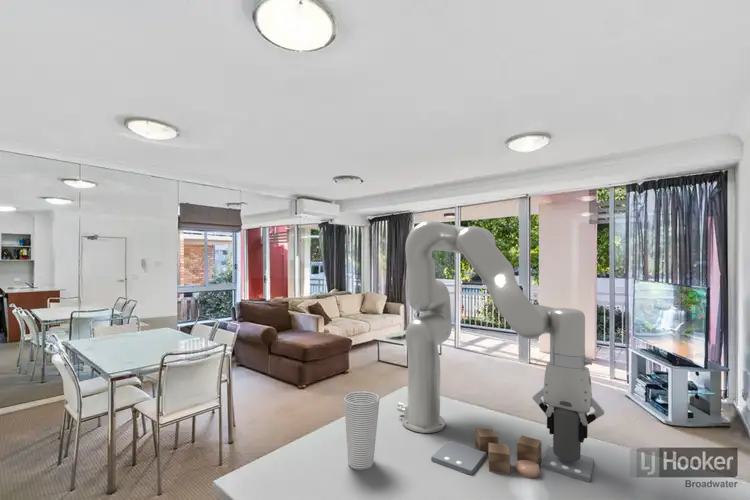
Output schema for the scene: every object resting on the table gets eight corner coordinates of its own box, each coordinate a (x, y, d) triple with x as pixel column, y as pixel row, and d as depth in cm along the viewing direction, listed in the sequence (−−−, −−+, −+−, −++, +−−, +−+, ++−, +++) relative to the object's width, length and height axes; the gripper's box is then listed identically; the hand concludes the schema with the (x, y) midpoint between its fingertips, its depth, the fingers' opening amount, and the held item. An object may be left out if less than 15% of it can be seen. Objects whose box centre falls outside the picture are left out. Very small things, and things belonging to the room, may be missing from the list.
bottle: (584, 462, 84) (584, 396, 85) (556, 459, 85) (557, 394, 86) (575, 450, 90) (576, 388, 90) (550, 447, 91) (550, 386, 92)
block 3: (517, 461, 89) (517, 442, 89) (521, 453, 93) (521, 435, 93) (537, 467, 87) (537, 447, 87) (541, 459, 90) (541, 440, 90)
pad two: (431, 460, 88) (431, 456, 88) (448, 444, 97) (448, 440, 97) (471, 475, 83) (471, 470, 83) (486, 456, 91) (486, 451, 91)
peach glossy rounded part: (514, 466, 87) (513, 459, 87) (536, 467, 86) (536, 460, 86) (518, 477, 82) (517, 469, 82) (542, 478, 81) (541, 470, 81)
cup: (361, 450, 93) (362, 388, 93) (386, 463, 87) (387, 397, 87) (335, 462, 87) (336, 396, 87) (359, 478, 81) (360, 406, 81)
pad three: (540, 467, 86) (540, 462, 86) (548, 449, 94) (548, 445, 95) (589, 482, 81) (589, 477, 81) (593, 462, 89) (593, 458, 89)
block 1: (480, 454, 92) (480, 436, 92) (475, 445, 96) (475, 428, 96) (498, 455, 92) (498, 436, 92) (492, 446, 96) (492, 428, 96)
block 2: (489, 471, 84) (489, 451, 85) (488, 461, 89) (488, 442, 89) (509, 474, 83) (509, 454, 83) (508, 464, 88) (508, 445, 88)
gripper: (610, 363, 86) (610, 441, 86) (532, 351, 96) (532, 421, 96) (608, 370, 80) (608, 454, 80) (525, 357, 90) (525, 431, 90)
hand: (566, 435), depth 88 cm, fingers closed on bottle, 5 cm apart
